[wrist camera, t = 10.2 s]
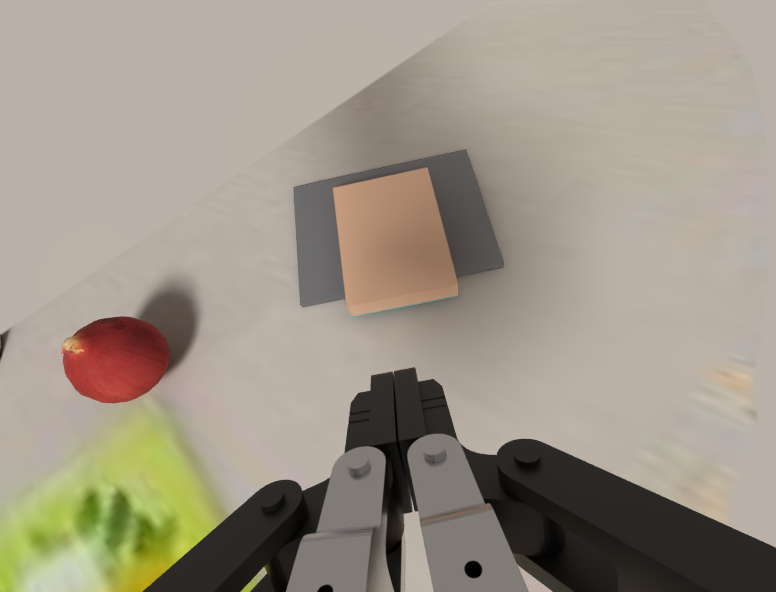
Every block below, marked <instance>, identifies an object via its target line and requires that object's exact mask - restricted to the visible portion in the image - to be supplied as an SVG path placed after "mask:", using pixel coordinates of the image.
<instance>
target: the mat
mask: <svg viewBox="0 0 776 592" xmlns="http://www.w3.org/2000/svg"><path fill="white" fill-rule="evenodd" d="M427 167H428V171H429V175H430V179H431V183H432V186H433V190H434V194H435V198H436V201H437V205H438V209H439V213H440V217H441V220H442V224H443V228H444V232H445V236H446V239H447V243H448V247H449V251H450V255H451V258H452V262H453V266H454V270H455V274H456V277H457V276H462V275H467V274H472V273H477V272H482V271H487V270H492V269H497V268H502V267H503V265H504V262H503V259H502V256H501V253H500V250H499V247H498V244H497V241H496V238H495V235H494V232H493V229H492V226H491V223H490V220H489V217H488V214H487V211H486V208H485V205H484V202H483V199H482V196H481V193H480V190H479V187H478V184H477V181H476V178H475V175H474V172H473V169H472V166H471V163H470V160H469V157H468V154H467V151H466V149H465V150H461V151H456V152H452V153H447V154H443V155H438V156H434V157H429V158H424V159H420V160H415V161H411V162H406V163H402V164H397V165H393V166H388V167H383V168H379V169H374V170H370V171H365V172H361V173H356V174H352V175H347V176H342V177H338V178H333V179H329V180H324V181H320V182H315V183H311V184H306V185H301V186H297V187H293V188H294V205H295V222H296V240H297V257H298V274H299V292H300V305H301V306H302V307H307V306H312V305H317V304H322V303H327V302H332V301H337V300H342V299H346V298H345V289H344V280H343V272H342V263H341V254H340V246H339V237H338V228H337V220H336V211H335V202H334V194H333V188H335V187H339V186H344V185H349V184H353V183H358V182H362V181H367V180H372V179H376V178H381V177H385V176H390V175H395V174H399V173H404V172H408V171H413V170H417V169H422V168H427Z"/></svg>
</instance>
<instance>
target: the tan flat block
mask: <svg viewBox="0 0 776 592" xmlns="http://www.w3.org/2000/svg"><path fill="white" fill-rule="evenodd" d="M333 194H334V202H335V211H336V220H337V228H338V237H339V246H340V254H341V263H342V272H343V280H344V289H345V298H346V306H347V308H348V310H349V312H350V313H351V315H352V317H356V316H361V315H366V314H371V313H377V312H382V311H387V310H392V309H397V308H402V307H407V306H412V305H417V304H422V303H427V302H432V301H437V300H442V299H448V298H453V297H458V281H457V277H456V274H455V270H454V266H453V262H452V258H451V255H450V251H449V247H448V243H447V239H446V236H445V232H444V228H443V224H442V220H441V217H440V213H439V209H438V205H437V201H436V198H435V194H434V190H433V186H432V183H431V179H430V175H429V171H428V167H427V168H422V169H417V170H413V171H408V172H404V173H399V174H395V175H390V176H385V177H381V178H376V179H372V180H367V181H362V182H358V183H353V184H349V185H344V186H339V187H335V188H333Z"/></svg>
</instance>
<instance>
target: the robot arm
mask: <svg viewBox="0 0 776 592" xmlns="http://www.w3.org/2000/svg"><path fill="white" fill-rule="evenodd" d="M0 348H1V335H0ZM394 378H395V379H394ZM411 497H412V501H413V505H414V510H415V511H418V512H419V517H420V525H421V530H422V535H423V540H424V545H425V550H426V555H427V560H428V565H429V570H430V575H431V580H432V585H433V590H434V592H529V591H528V589H527V586H526V584H525V582H524V579H523V577H522V575H521V572H520V570H519V568H518V566H517V564H518V565H519V566H520V567H521V568H522V569H524V570H525V571H526V572H528V573H529V574H530V575H532V576H533V577H534V578H536V579H537V580H538V581H540V582H541V583H542V584H544V585H545V586H546V587H548V588H549V589H550V590H551V591H553V592H776V548H775V547H773V546H771V545H769V544H767V543H764V542H762V541H760V540H757V539H755V538H753V537H751V536H749V535H747V534H744V533H742V532H740V531H738V530H736V529H733V528H731V527H729V526H727V525H724V524H722V523H720V522H718V521H716V520H713V519H711V518H709V517H707V516H705V515H702V514H700V513H698V512H696V511H693V510H691V509H689V508H687V507H685V506H682V505H680V504H678V503H676V502H674V501H671V500H669V499H667V498H665V497H662V496H660V495H658V494H656V493H654V492H651V491H649V490H647V489H645V488H643V487H640V486H638V485H636V484H634V483H631V482H629V481H627V480H625V479H623V478H620V477H618V476H616V475H614V474H612V473H609V472H607V471H605V470H603V469H600V468H598V467H596V466H594V465H592V464H589V463H587V462H585V461H583V460H581V459H578V458H576V457H574V456H572V455H569V454H567V453H565V452H563V451H561V450H558V449H556V448H554V447H552V446H550V445H547V444H545V443H543V442H540V441H537V440H533V439H517V440H513V441H510V442H508V443H506V444H504V445H503V446H502V447H501V448H500V449H499V451H498V452H497V455H487V454H479V453H475V452H473V451H470V450H468V449H466V448H465V447H464V446H462V445H461V444H460V442H459V441H458V439H457V437H456V433H455V430H454V426H453V423H452V419H451V416H450V412H449V409H448V406H447V402H446V398H445V395H444V391H443V388H442V386H441V385H440V384H439V383H438V382H436V381H435V380H434V379H431V380H426V381H420V382H418V379H417V374H416V369H415V367H414V368H409V369H403V370H398V371H394V375H393V372H388V373H382V374H377V375H372V376H371V391H366V392H361V393H358V394H357V395H356V397H355V398H354V400H353V401H352V402H351V407H350V416H349V424H348V430H347V438H346V446H345V453H344V454H343V455H342V456H341V457H340V458H339V459H338V460H337V461H336V462H335V464H334V466H333V469H332V473H331V477H330V478H328V479H327V480H325V481H323V482H321V483H319V484H317V485H315V486H313V487H310V488H308V489H306V490H304V491H302V489H301V486H300V485H299V484H298V483H297V482H295V481H292V480H279V481H275V482H273V483H270V484H268V485H266V486H264V487H263V488H261V489H260V490H259V491H257V492H256V493H255V494H254V495H253V496H252V497H251V498H249V499H248V500H247V501H246V502H245V503H244V504H243V505H241V506H240V507H239V508H238V509H237V510H236V511H234V512H233V513H232V514H231V515H230V516H229V517H228V518H226V519H225V520H224V521H223V522H222V523H221V524H220V525H218V526H217V527H216V528H215V529H214V530H213V531H212V532H210V533H209V534H208V535H207V536H206V537H205V538H204V539H202V540H201V541H200V542H199V543H198V544H197V545H195V546H194V547H193V548H192V549H191V550H190V551H189V552H187V553H186V554H185V555H184V556H183V557H182V558H181V559H179V560H178V561H177V562H176V563H175V564H174V565H173V566H171V567H170V568H169V569H168V570H167V571H166V572H165V573H163V574H162V575H161V576H160V577H159V578H158V579H156V580H155V581H154V582H153V583H152V584H151V585H150V586H148V587H147V588H146V589H145V590H144V591H143V592H240V591H241V590H242V589H243V588H244V587H245V586H246V585H247V584H248V583H249V582H250V581H251V580H252V579H253V578H254V577H255V576H256V575H257V573H258V572H259V571H260V570H261V569H262V568H263V567H264V566H265V569H266V571H267V574H266V575H265V576H264V577H263V579H262V580H261V581H260V582H259V583H258V584H257V585H256V586H255V587H254V588H253V589H252V590H251V592H405V553H406V542H405V536H404V515H403V514H404V513H410V512H412V502H411Z"/></svg>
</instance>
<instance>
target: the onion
mask: <svg viewBox="0 0 776 592" xmlns="http://www.w3.org/2000/svg"><path fill="white" fill-rule="evenodd" d="M61 353H62V354H64V356H63V364H64V370H65V374H66V376H67V378H68V379H69V381H70V382H71V383H72V385H73V386H74V388H75V389H76V390H77V391H78V392H79V393H80V394H81V395H83V396H86V397H89V398H91V399H94V400H97V401H100V402H102V403H120V402H127V401H130V400H133V399H136V398H138V397H140V396H141V395H143V394H145V393H147V392H148V391H150V390H151V389H152V388H153V387H154V386H155V385H156V384H157V383H158V382H159V381H160V379H161V378H162V376H163V375H164V373H165V372H166V370H167V367H168V363H169V359H170V355H169V348H168V345H167V342H166V340H165V338H164V337H163V336H162V334H161V333H160V332H159V331H158V330H157V329H156V328H155V327H154V326H152V325H151V324H148V323H146V322H143V321H141V320H138V319H135V318H132V317H123V316H121V317H112V318H104V319H99V320H97V321H94V322H92V323H90V324H89V325H87V326H85V327H83V328H81V329H80V330H78V331H77V332H76V333H75V334H74V335H73V336H72V337H69V338H67V339H66V340H65V341H64V343H63V345H62V352H61Z"/></svg>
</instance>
